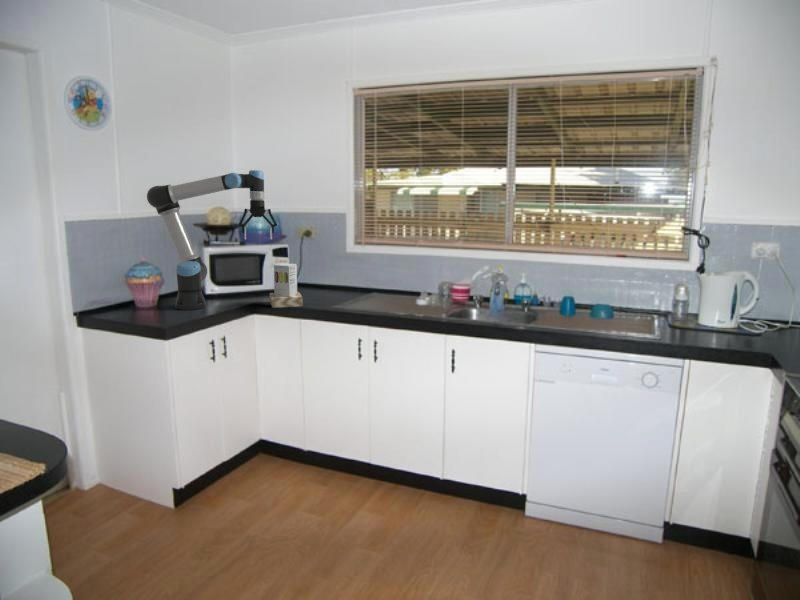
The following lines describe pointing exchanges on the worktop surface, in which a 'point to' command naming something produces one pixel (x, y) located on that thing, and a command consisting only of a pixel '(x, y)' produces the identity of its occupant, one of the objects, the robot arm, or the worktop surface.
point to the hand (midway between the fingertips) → (258, 239)
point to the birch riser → (286, 300)
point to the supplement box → (285, 279)
